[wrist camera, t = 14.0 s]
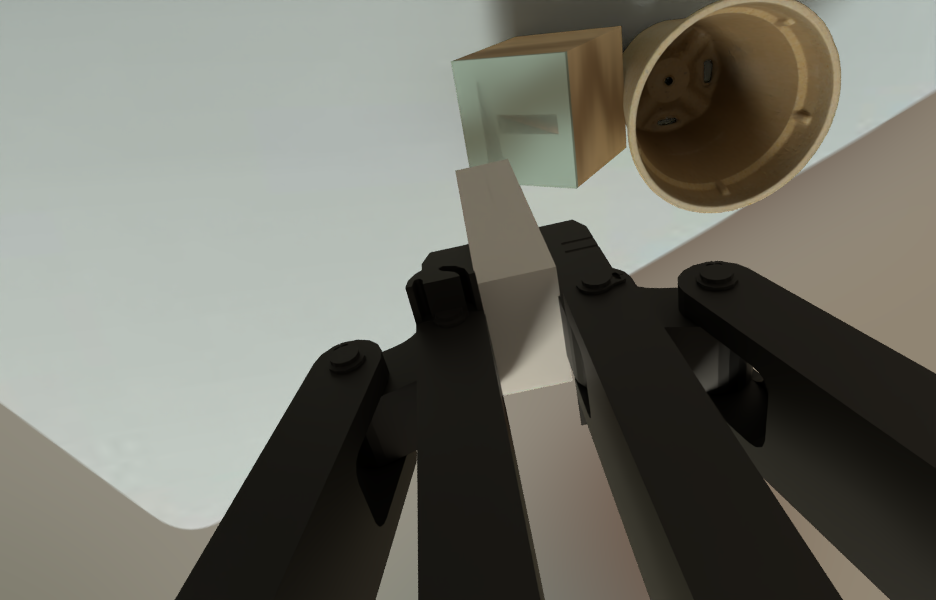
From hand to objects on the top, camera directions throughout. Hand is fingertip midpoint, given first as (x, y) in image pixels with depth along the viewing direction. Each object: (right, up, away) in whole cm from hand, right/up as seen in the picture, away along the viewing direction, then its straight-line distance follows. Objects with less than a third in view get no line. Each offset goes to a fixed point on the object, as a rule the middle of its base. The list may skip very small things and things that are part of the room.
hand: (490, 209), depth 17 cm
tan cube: (+2, +6, +11) cm, 12 cm away
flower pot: (+11, +10, +17) cm, 22 cm away
